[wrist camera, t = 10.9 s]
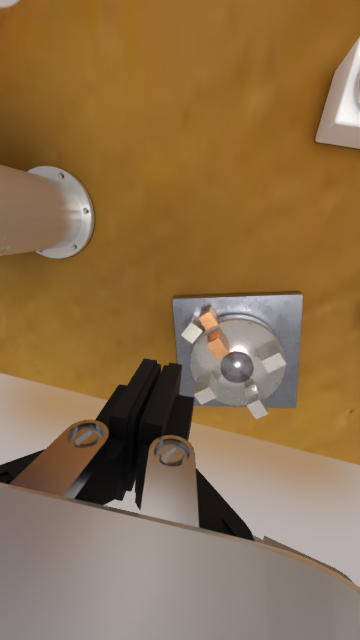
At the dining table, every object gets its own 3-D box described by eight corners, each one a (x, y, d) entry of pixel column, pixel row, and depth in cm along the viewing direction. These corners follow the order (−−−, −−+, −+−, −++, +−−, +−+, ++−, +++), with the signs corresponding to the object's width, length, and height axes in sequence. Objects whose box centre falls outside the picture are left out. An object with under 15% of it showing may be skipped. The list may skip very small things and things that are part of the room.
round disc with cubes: (297, 371, 41) (311, 398, 35) (221, 406, 45) (220, 437, 39) (245, 285, 39) (249, 297, 32) (168, 330, 43) (158, 349, 36)
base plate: (182, 398, 49) (177, 418, 43) (174, 295, 43) (167, 305, 38) (293, 400, 46) (301, 423, 40) (299, 291, 40) (310, 301, 35)
